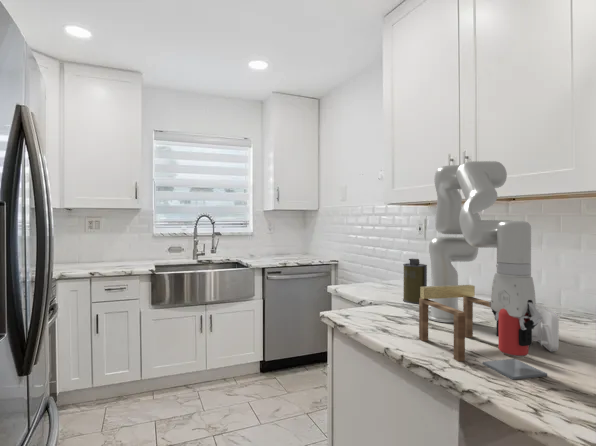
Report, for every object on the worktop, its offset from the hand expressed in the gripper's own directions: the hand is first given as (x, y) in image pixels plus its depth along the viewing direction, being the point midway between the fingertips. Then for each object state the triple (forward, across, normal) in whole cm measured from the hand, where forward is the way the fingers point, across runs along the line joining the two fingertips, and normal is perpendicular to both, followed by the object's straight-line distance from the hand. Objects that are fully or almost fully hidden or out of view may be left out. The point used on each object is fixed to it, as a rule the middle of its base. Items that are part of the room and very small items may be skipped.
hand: (513, 340), depth 94 cm
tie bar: (-6, -26, -1) cm, 26 cm away
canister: (+8, -80, +19) cm, 83 cm away
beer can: (+3, 0, 0) cm, 3 cm away
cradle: (+7, -18, -1) cm, 19 cm away
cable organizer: (+8, -15, +20) cm, 26 cm away
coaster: (+7, 0, 0) cm, 7 cm away
